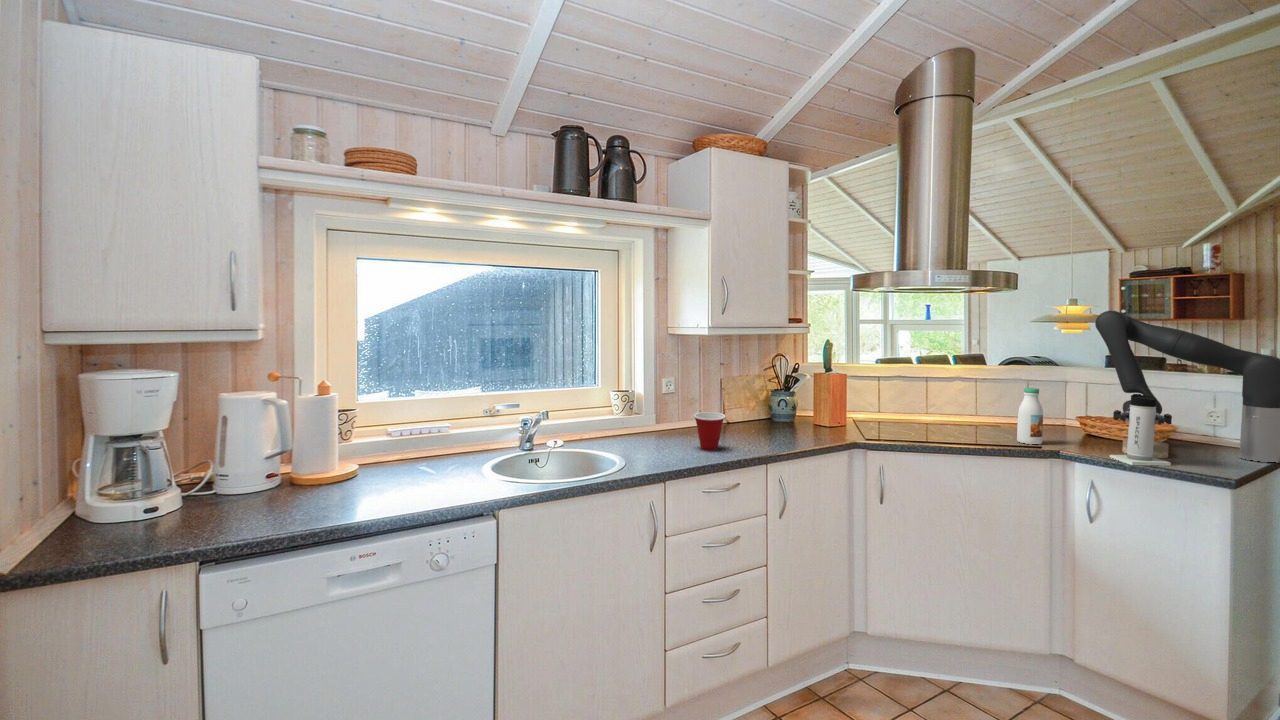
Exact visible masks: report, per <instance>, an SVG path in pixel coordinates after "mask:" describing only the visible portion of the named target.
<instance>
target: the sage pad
mask: <svg viewBox="0 0 1280 720" xmlns="http://www.w3.org/2000/svg"><path fill="white" fill-rule="evenodd" d="M1110 457H1111V458H1110ZM1109 458H1110V459H1112V458H1114V459H1113V460H1115V459H1116V460H1115V461H1118V460H1119V461H1118V462H1121V463H1124V464H1128V465H1131V466H1150V465H1159V466H1160V467H1166V466H1167V467H1171V466H1172V465H1171V464H1172V463H1171V462H1170V461H1166V460H1164V459H1163V460H1162V459H1161V458H1153V459H1152V460H1149V461H1146V460H1136V459H1131V458H1128V457H1127V454H1109Z"/></svg>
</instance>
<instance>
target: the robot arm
mask: <svg viewBox="0 0 1280 720" xmlns="http://www.w3.org/2000/svg"><path fill="white" fill-rule="evenodd" d="M1094 324H1095V328H1096V330H1097V331H1098V333H1099V334H1100V336H1101V338H1102V339H1103V341H1104V343H1105V345H1106V347H1107V349H1108V352H1109V354H1110V357H1111V359H1112V362H1113V365H1114V369H1115V371H1116V375H1117V378H1118V381H1119V384H1120V387H1121V389H1122V390H1121V391H1123V393H1125V394H1141V395H1145V396H1151V397H1154V398H1156V396H1155V394H1153V392H1152V391H1151V389H1150V387H1149V386H1148V383H1147V381H1146V379H1145V376H1144V373H1143V369H1142V368H1141V365H1140V364H1139V361H1138V359H1137V357H1136V356H1135V354H1134V351H1133V350H1132V347H1131V345H1130V342H1129V341H1131V342H1133V343H1134V342H1135V343H1138V344H1141V345H1144V346H1146V347H1149V348H1150V349H1152V350H1154V351H1157V352H1159V353H1162V354H1165V355H1166V356H1170V357H1173V358H1176V359H1179V360H1183V361H1186V362H1190V363H1194V364H1200V365H1204V366H1210V367H1216V368H1220V369H1224V370H1227V371H1230V372H1233V373H1234V374H1235V373H1236V374H1238V375H1240V376H1242V388H1241V389H1242V390H1241V397H1242V405H1241V406H1242V408H1241V424H1240V436H1239V437H1240V438H1239V440H1240V441H1239V456H1238V458H1239V459H1241V458H1242V460H1245V459H1246V460H1247V461H1250V460H1253V461H1252V462H1257V461H1260V462H1259V463H1267V462H1276V463H1275V464H1277V463H1280V358H1279V357H1276V356H1274V355H1270V354H1268V355H1267V354H1262V353H1258V352H1253V351H1248V350H1244V349H1240V348H1236V347H1232V346H1229V345H1227V344H1225V343H1222V342H1219V341H1217V340H1214V339H1211V338H1208V337H1206V336H1202V335H1200V334H1196V333H1193V332H1189V331H1185V330H1183V329H1182V330H1181V329H1177V328H1172V327H1168V326H1161V325H1154V324H1150V323H1147V322H1144V321H1141V320H1139V319H1136V318H1133V317H1131V316H1128V315H1126V314H1124V313H1122V312H1120V311H1116V310H1105V311H1104V312H1102V313H1100V314H1099V315H1098V316H1097V317H1096V319H1095V323H1094ZM1130 403H1131V399H1130V400H1126V401H1124V402H1123V404H1122V411H1123V412H1122V411H1121V410H1118V409H1117V410H1116V409H1115V410H1114V411H1113V413H1112V415H1113V417H1112V418H1113V420H1114V421H1117V420H1120V421H1122V422H1123V423H1125V422H1128V423H1129V414H1130V407H1131V406H1130ZM1162 413H1163V405H1162V404H1161V402H1160V401H1159V400H1158V399H1157V398H1156V417H1155V425H1163V424H1167V425H1172V418H1173V415H1172V414H1170V413H1164V414H1162ZM1161 414H1162V415H1161ZM1246 460H1245V461H1246Z"/></svg>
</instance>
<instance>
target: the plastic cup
mask: <svg viewBox="0 0 1280 720" xmlns="http://www.w3.org/2000/svg"><path fill="white" fill-rule="evenodd" d="M693 417H694V419H695V423H696V428H697V434H698V439H699V446H700V449H701V450H704V451H715V450H718V447H719V442H720V439H721V433H722V429H723V428H722V427H723V423H724V419H725V417H726V415H725V414H723V413H720V412H716V411H715V412H712V411H703V412H701V411H700V412H696V413H694V415H693Z"/></svg>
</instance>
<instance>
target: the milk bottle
mask: <svg viewBox="0 0 1280 720" xmlns="http://www.w3.org/2000/svg"><path fill="white" fill-rule="evenodd" d="M1023 395H1024V397H1023V399H1022V401H1021V403H1020V405H1019V407H1018V411H1017V429H1016V431H1017V432H1016V441H1018V442H1017V443H1019V442H1020V444H1023V443H1025V445H1032V444H1039V445H1042V444H1043V429H1044V428H1043V427H1044V409H1043V406H1042V404H1041V402H1040V399H1039V395H1040V388H1037V387H1024V388H1023Z"/></svg>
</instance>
